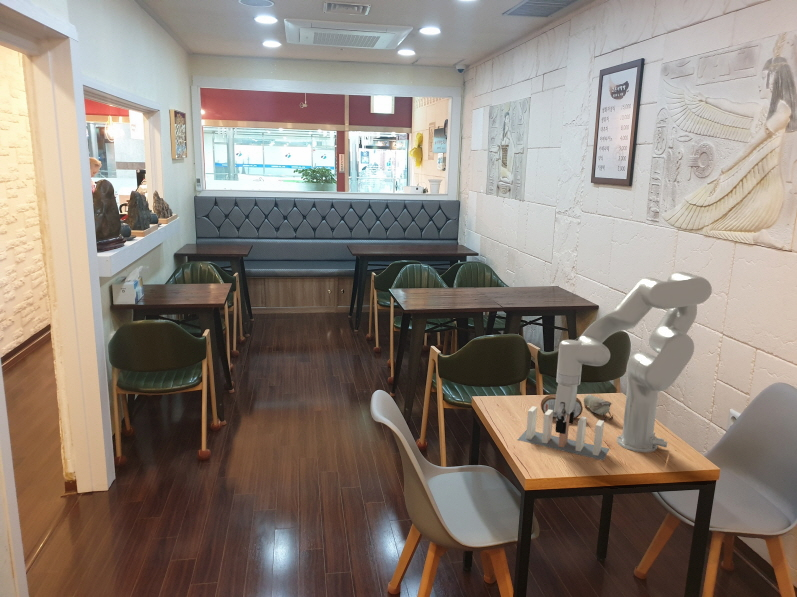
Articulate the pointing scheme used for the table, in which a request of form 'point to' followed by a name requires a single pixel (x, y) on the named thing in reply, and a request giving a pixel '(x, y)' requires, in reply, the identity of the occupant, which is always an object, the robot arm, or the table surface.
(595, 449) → the tile
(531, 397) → the table surface
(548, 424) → the tile
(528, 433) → the tile
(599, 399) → the decorative bird
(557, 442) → the slate mat
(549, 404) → the tin
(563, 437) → the tile
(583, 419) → the tile
